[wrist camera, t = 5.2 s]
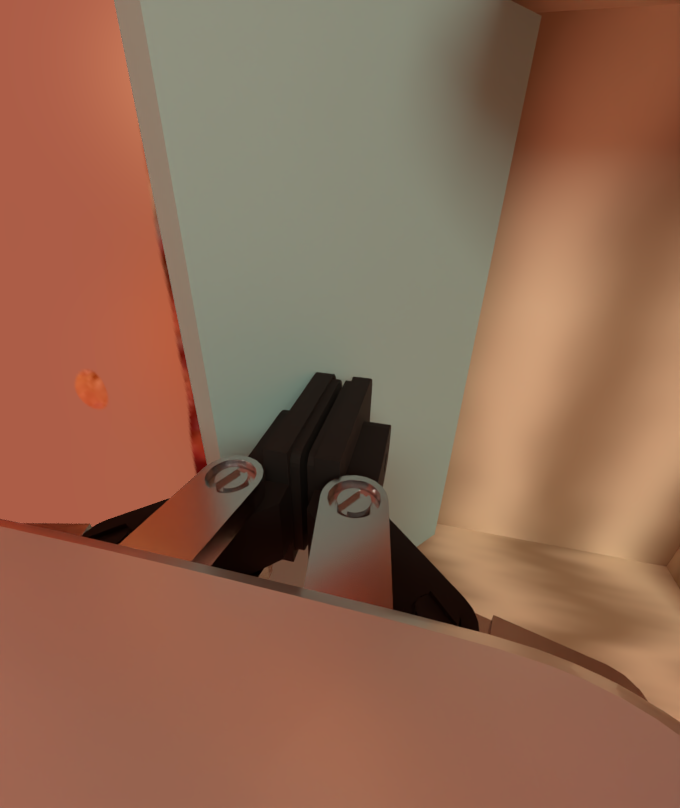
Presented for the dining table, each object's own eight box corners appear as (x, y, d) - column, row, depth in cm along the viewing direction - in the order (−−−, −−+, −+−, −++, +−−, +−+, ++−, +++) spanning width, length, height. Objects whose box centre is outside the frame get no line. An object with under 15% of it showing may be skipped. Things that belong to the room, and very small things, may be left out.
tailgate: (541, 15, 10) (104, -204, 5) (434, 533, 21) (256, 660, 15) (476, 35, 12) (81, -115, 6) (407, 511, 22) (234, 618, 16)
